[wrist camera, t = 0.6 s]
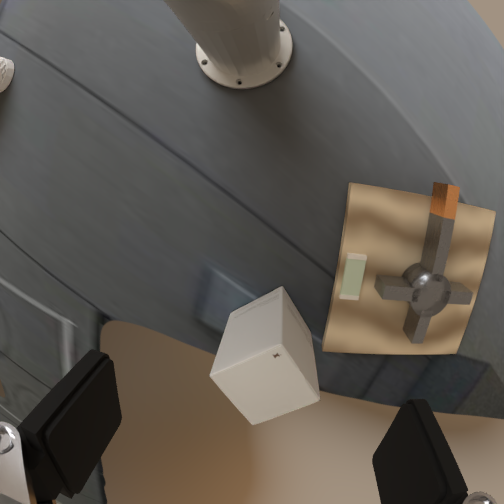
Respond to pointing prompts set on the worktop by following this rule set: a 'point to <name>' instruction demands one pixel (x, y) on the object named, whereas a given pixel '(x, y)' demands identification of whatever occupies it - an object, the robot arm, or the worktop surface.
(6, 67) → the white cup
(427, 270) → the capstan
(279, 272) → the worktop surface
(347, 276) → the level window
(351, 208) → the stand plate
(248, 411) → the supplement box
